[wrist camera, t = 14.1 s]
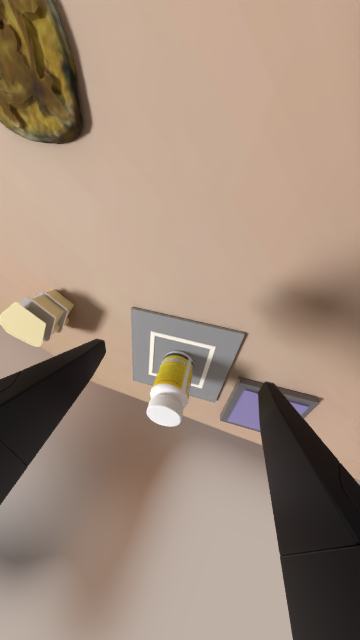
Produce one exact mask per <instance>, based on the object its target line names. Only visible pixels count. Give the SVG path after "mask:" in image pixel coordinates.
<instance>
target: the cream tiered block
mask: <svg viewBox="0 0 360 640" xmlns="http://www.w3.org/2000/svg"><path fill="white" fill-rule="evenodd" d="M73 306H74V304H72V303H71V302H70V301H69V300H67V299H66V298H65V297H64V296H62V295H61V294H60V293H59V292H57V291H56V290H55V289H54V290H52V291H50V292H47V293H46V292H45V291H41V292H40V293H39V294H37V295H36V296H35V297H34V298H30V297H26V298H25V299H24V300H23V301H21V302H20V303H17V302H15V303H14V304H12V305H11V306H10V307H9V308H8V309H6V310H5V311H4V312H3V313H2V314H0V324H1V326H2V327H3V328H4V329H5V331H6V332H7V333H9V334H11V335H13V336H14V337H16V338H18V339H20V340H22V341H24V342H26V343H28V344H30V345H33V346H35V347H39V346H41V344H42V341H48V340H49V339H51V337H52V334H53V333H59V332H61V331H62V330H63V327H64V326H65V325H66V324H68V322H69V319H68V317H67V316H68V315H69V313H70V311H71V310H72V308H73Z"/></svg>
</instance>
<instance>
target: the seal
mask: <svg viewBox="0 0 360 640" xmlns="http://www.w3.org/2000/svg"><path fill="white" fill-rule="evenodd" d="M76 81H77V77H76V68H75V65H74V61H73V57H72V54H71V50H70V47H69V44H68V41H67V38H66V35H65V32H64V29H63V26H62V24H61V21H60V18H59V16H58V13H57V11H56V9H55V6H54V4H53V2H52V0H0V122H1V123H2V124H3V125H4V126H5V127H7V128H8V129H10V130H11V131H13V132H14V133H16V134H18V135H20V136H22V137H24V138H26V139H29V140H32V141H37V142H39V141H40V142H43V143H58V144H59V143H63V142H67V141H71V140H72V139H74V138H75V137H76V136H77V135H78V134H79V133H80V131H81V130H82V118H81V114H80V110H79V103H78V97H77V94H76V91H75V84H76Z"/></svg>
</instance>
